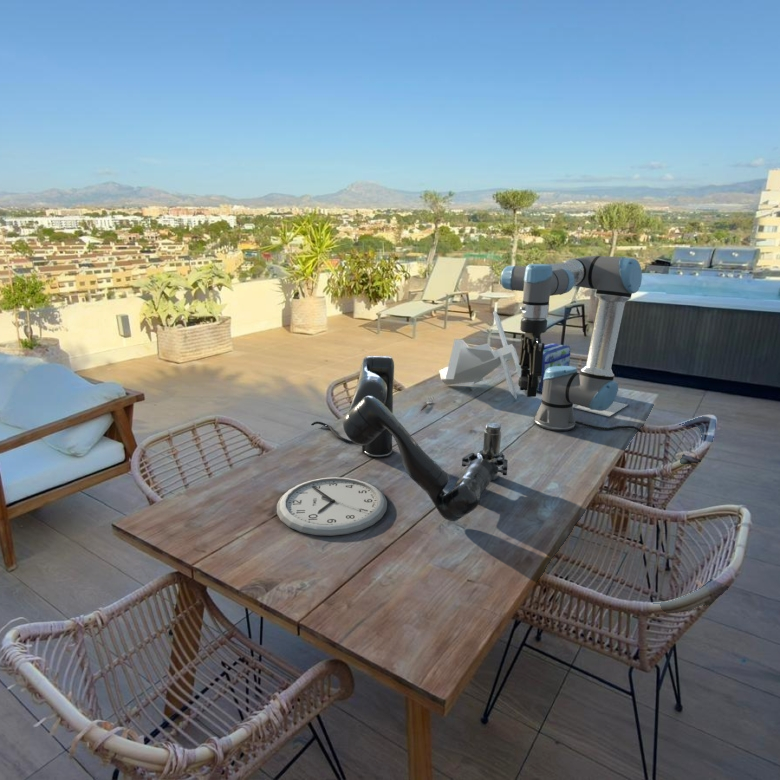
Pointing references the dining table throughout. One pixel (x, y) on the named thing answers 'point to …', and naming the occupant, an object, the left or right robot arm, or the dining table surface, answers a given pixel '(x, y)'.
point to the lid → (524, 382)
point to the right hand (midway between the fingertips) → (527, 392)
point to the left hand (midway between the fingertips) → (492, 454)
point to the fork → (427, 403)
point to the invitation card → (608, 412)
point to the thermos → (492, 442)
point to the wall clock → (331, 506)
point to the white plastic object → (480, 361)
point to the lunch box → (553, 359)
